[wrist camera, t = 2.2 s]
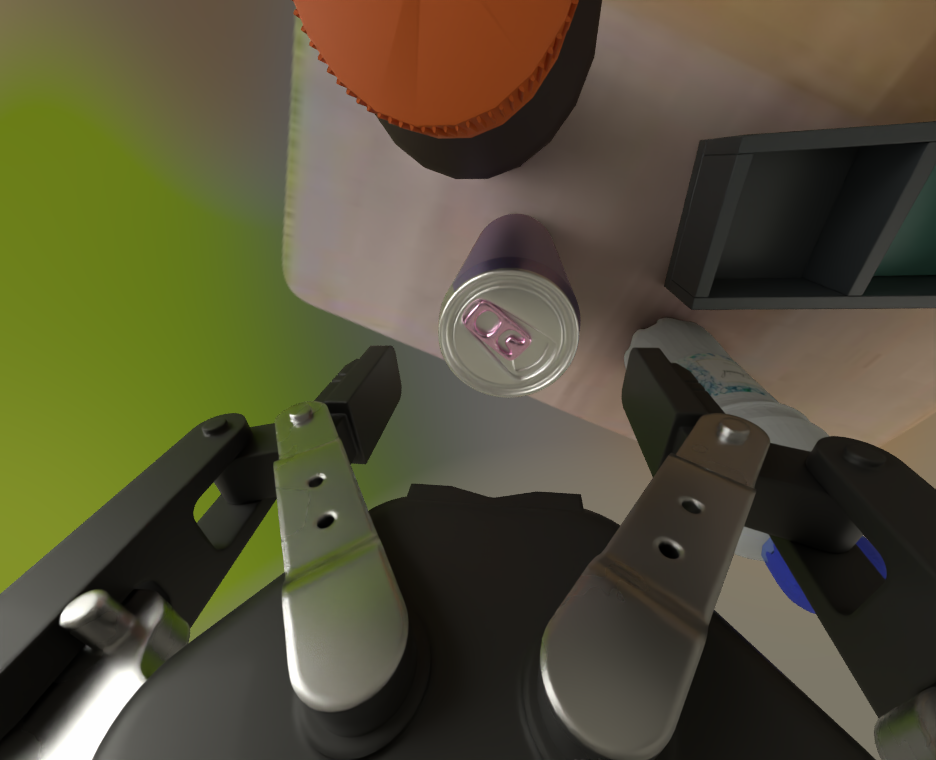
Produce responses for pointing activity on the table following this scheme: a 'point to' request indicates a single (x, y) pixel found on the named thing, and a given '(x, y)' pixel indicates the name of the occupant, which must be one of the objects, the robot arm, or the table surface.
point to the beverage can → (510, 312)
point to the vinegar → (459, 72)
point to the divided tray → (810, 221)
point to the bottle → (748, 402)
